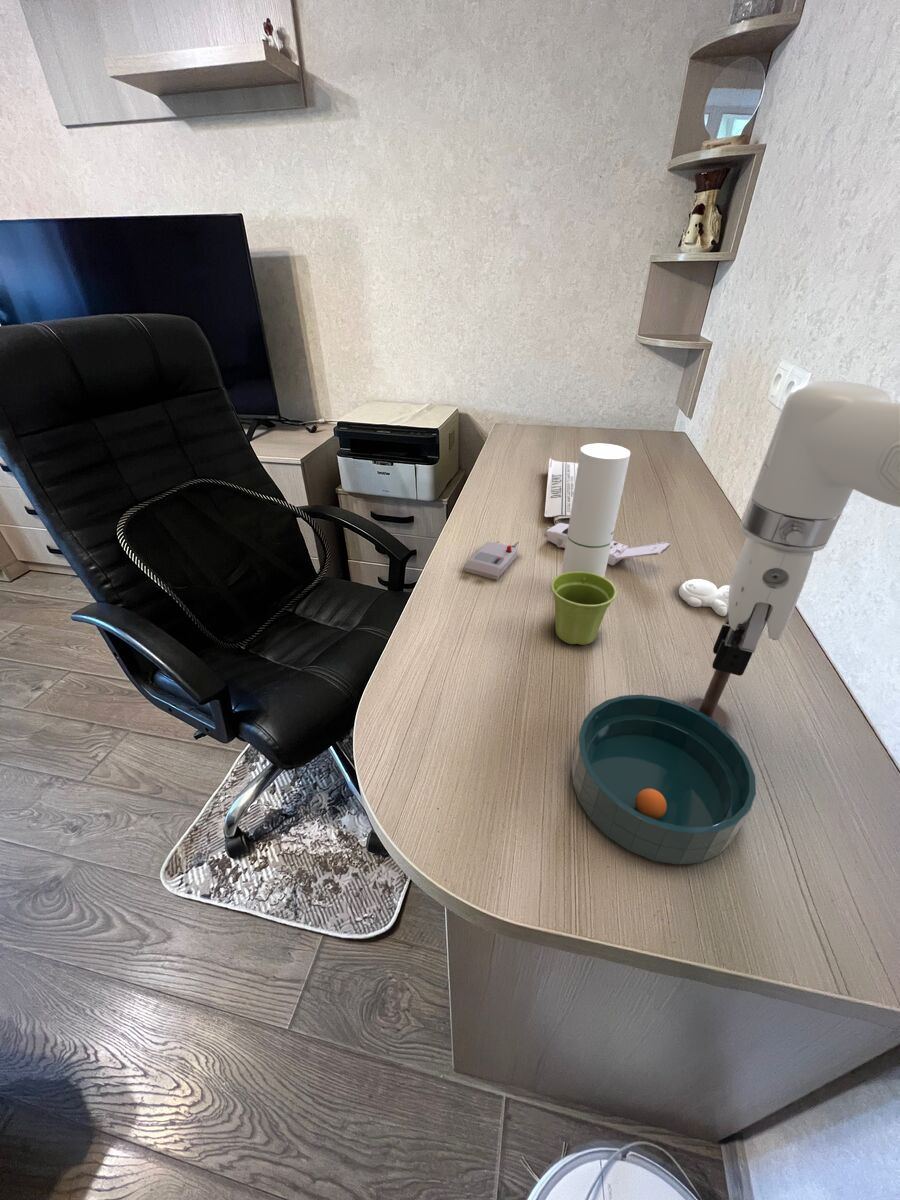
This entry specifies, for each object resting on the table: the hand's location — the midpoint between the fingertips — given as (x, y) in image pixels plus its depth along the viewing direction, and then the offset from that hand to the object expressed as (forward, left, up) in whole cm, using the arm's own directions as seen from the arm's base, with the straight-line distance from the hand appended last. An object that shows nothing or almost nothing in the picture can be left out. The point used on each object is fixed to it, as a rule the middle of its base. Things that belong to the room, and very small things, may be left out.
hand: (727, 662), depth 59 cm
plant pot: (+19, -10, -10) cm, 24 cm away
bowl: (+5, +14, -9) cm, 18 cm away
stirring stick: (0, 0, -9) cm, 9 cm away
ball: (+5, +18, -7) cm, 20 cm away
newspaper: (+33, -63, -10) cm, 72 cm away
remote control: (+39, -26, -10) cm, 47 cm away
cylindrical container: (+21, -22, -10) cm, 32 cm away
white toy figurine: (-1, -29, -10) cm, 31 cm away
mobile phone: (+21, -37, -10) cm, 44 cm away
